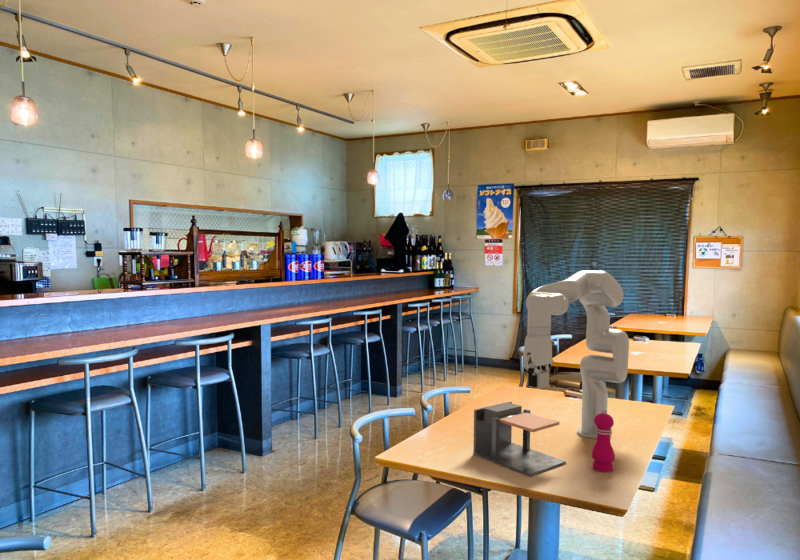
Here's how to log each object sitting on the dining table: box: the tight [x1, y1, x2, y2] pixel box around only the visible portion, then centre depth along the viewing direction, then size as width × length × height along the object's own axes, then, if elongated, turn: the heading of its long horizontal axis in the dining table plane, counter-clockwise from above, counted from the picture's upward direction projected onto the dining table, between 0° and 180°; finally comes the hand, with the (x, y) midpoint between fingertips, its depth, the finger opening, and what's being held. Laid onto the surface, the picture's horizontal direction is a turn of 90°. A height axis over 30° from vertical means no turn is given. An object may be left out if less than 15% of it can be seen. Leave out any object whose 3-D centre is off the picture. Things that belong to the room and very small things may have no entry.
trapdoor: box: [483, 402, 560, 433], centre depth 193 cm, size 14×22×5 cm, turn 38°
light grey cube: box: [527, 369, 550, 390], centre depth 187 cm, size 5×5×5 cm
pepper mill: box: [591, 409, 616, 473], centre depth 185 cm, size 7×7×20 cm
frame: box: [472, 401, 567, 478], centre depth 193 cm, size 19×25×16 cm
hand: (538, 384), depth 187 cm, fingers closed on light grey cube, 5 cm apart
